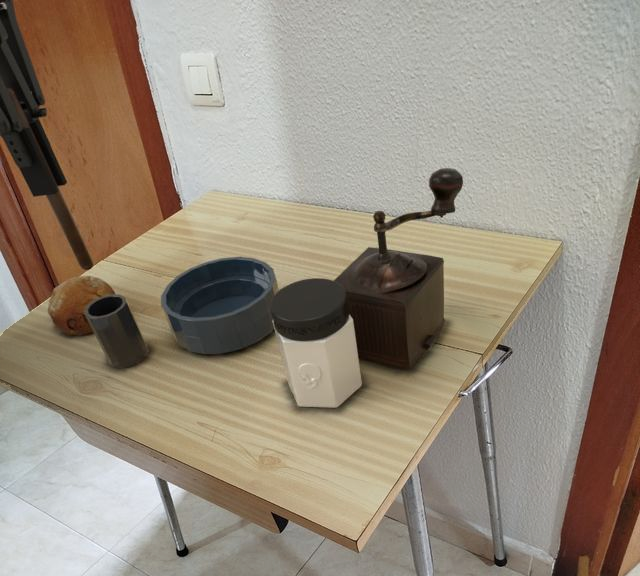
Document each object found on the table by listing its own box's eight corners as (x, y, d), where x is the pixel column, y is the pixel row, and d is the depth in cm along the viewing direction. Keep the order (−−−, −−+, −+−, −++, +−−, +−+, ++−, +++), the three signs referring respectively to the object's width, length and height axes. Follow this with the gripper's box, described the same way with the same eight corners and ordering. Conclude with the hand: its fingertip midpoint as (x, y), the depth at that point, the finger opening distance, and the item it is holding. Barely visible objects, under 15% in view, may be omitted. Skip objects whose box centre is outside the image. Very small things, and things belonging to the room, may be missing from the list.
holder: (103, 369, 79) (77, 319, 73) (117, 344, 83) (94, 295, 77) (140, 367, 78) (117, 317, 72) (153, 342, 82) (132, 292, 76)
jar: (279, 408, 68) (256, 321, 59) (296, 363, 73) (276, 278, 65) (356, 410, 65) (342, 321, 57) (367, 364, 71) (356, 276, 63)
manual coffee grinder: (414, 374, 68) (406, 228, 56) (334, 353, 74) (310, 215, 61) (467, 303, 77) (471, 163, 64) (392, 288, 82) (382, 156, 70)
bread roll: (122, 315, 95) (97, 268, 92) (132, 315, 86) (104, 262, 83) (64, 342, 92) (36, 294, 89) (67, 344, 83) (36, 291, 80)
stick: (80, 273, 71) (-10, 89, 57) (85, 266, 72) (-1, 84, 58) (92, 272, 70) (5, 87, 57) (97, 265, 71) (13, 82, 58)
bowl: (161, 361, 78) (145, 324, 74) (192, 297, 89) (179, 261, 85) (273, 355, 75) (263, 316, 71) (291, 290, 86) (283, 252, 82)
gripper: (-102, -97, 42) (52, 216, 58) (-1, -111, 52) (106, 159, 69) (-187, -77, 44) (-14, 223, 60) (-73, -94, 54) (48, 166, 70)
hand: (50, 189), depth 64 cm, fingers closed on stick, 1 cm apart
